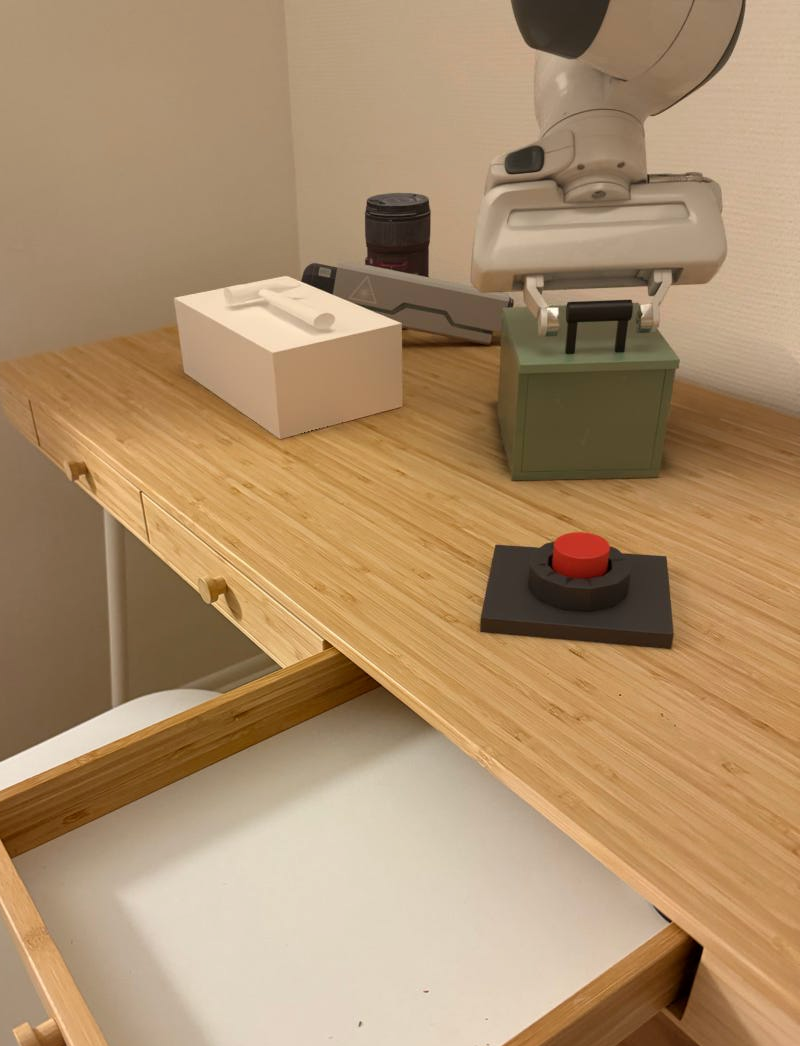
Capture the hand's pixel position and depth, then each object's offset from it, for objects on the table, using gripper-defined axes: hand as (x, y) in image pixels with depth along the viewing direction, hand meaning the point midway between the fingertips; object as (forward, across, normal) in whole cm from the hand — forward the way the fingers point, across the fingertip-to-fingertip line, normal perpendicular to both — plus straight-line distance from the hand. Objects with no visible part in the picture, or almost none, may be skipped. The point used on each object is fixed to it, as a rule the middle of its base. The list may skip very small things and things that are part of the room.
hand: (598, 331), depth 77 cm
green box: (+4, 0, -14) cm, 14 cm away
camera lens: (-25, +16, -43) cm, 52 cm away
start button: (+22, +4, +10) cm, 24 cm away
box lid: (-3, 0, -6) cm, 7 cm away
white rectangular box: (-8, +29, -26) cm, 40 cm away
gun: (-18, +15, -36) cm, 43 cm away
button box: (+25, +4, +7) cm, 26 cm away
